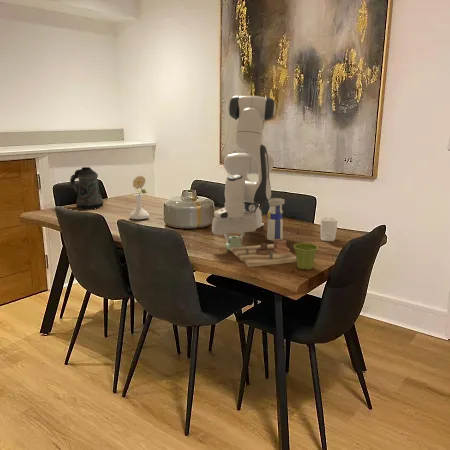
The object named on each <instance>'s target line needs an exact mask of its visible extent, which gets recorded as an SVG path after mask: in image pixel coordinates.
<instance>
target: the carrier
mask: <svg viewBox="0 0 450 450" xmlns="http://www.w3.org/2000/svg"><path fill="white" fill-rule="evenodd" d="M230 252H231V253H233V254H234V255H235V256H236V257H237V258H238V259H239V260H240V261H241V262H242V263H244V264H245V266H247V267H248V268H250V267H261V266H263V267H264V266H270V265H281V264H290V263H297V259H296V254H295V255H294V254H293V253H292V252H291V249H290V248H289V247H287V240H286V239H284V238H283V239H274V241H273V243H269V244H268V243H267V242H260V243H259V244H257V245H250V246H249V245H248V246H247V245H246V246H243V247H234V248H231V251H230Z"/></svg>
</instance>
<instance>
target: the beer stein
mask: <svg viewBox="0 0 450 450" xmlns="http://www.w3.org/2000/svg"><path fill="white" fill-rule="evenodd" d="M98 178H99V174H98V172H96V171H94V170H93V169H92V168H91V167H89V166H88V167H86V166H82V167H81V169H77V170H75V171H74V174H72V175H71V176H70V179H69V181H70V186H71V188H72V190H73V191H74V192H76V194H77V199H76V204H75V205H76V206H77V209H78V208H79V210H84V209H91V210H96V209H95V208H99V209H101V208H100V207H102V206H103V207H104V199H103V198H102V194H101V191H100V187H99V181H98ZM76 179H78V187H77V185H76V183H75V181H76ZM103 207H102V208H103Z"/></svg>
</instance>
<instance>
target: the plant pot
mask: <svg viewBox="0 0 450 450" xmlns="http://www.w3.org/2000/svg"><path fill="white" fill-rule="evenodd" d="M293 248H294V251H295V256H296V259H297V262H296V266H297V268H298V269H299V270H311V269H313V267H314V263H315V259H316V253H317V250H318V249H319V245H316V244H314V243H308V242H304V243H303V242H299V243H296V244H295V243H294V245H293Z"/></svg>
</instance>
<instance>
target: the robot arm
mask: <svg viewBox="0 0 450 450" xmlns="http://www.w3.org/2000/svg"><path fill="white" fill-rule="evenodd" d="M227 110H228V114H229V116H230V117H231V118H232V119H234V120H235V121H238V122H237V126H236V133H235V143H236V147H238V149H239V150H240V151H242V152H234V153H228V154H227V155H226V156H225V158H224V160H223V167H224V170H225V171H226V172H227V174H229V176H227V177H226V179H225V184H224V185H225V186H224V198H225V202H224V207H222V208H219V209H217V210H214V212H213V215H214V217H213V219H212V220H211V221H212V223H211V233H212V234H214V235H224V237H225V239H226V242H225V243H231V239H230V238H229V234H237V233H239V234H240V235H239V236H238V237H239V238H240V243H242V242H243V238H244V236H245V234H246V233H250V232H251V233H252V232H256V230H257V229H260V228H262V227H264V226H265V223H264V222H263V220H262V219H263V218H262V210H261V209H260V205H262V206H263V205H265V204H267V203H268V201H269V200H270V198H272V188H271V187H272V186H271V182H270V172H271V171H272V170H273V168H274V164H275V163H274V158H273V156H272V155H271V154H270V153H269V152H268V150H267V147H266V146H265V145H263V129H264V128H263V123H264V121H265V122H267V121H271V120H272V119H273V118H274V117H275V114H276V111H277V106H276V103H275V100H274V99H273V98H272V97H266V96H265V97H264V96H259V95H234V96H232V97H231V98H230V100H229V102H228V105H227ZM249 175H258V176H257V177H258V180H257V181H253V180H251V179H249V178H248V176H249Z"/></svg>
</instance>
